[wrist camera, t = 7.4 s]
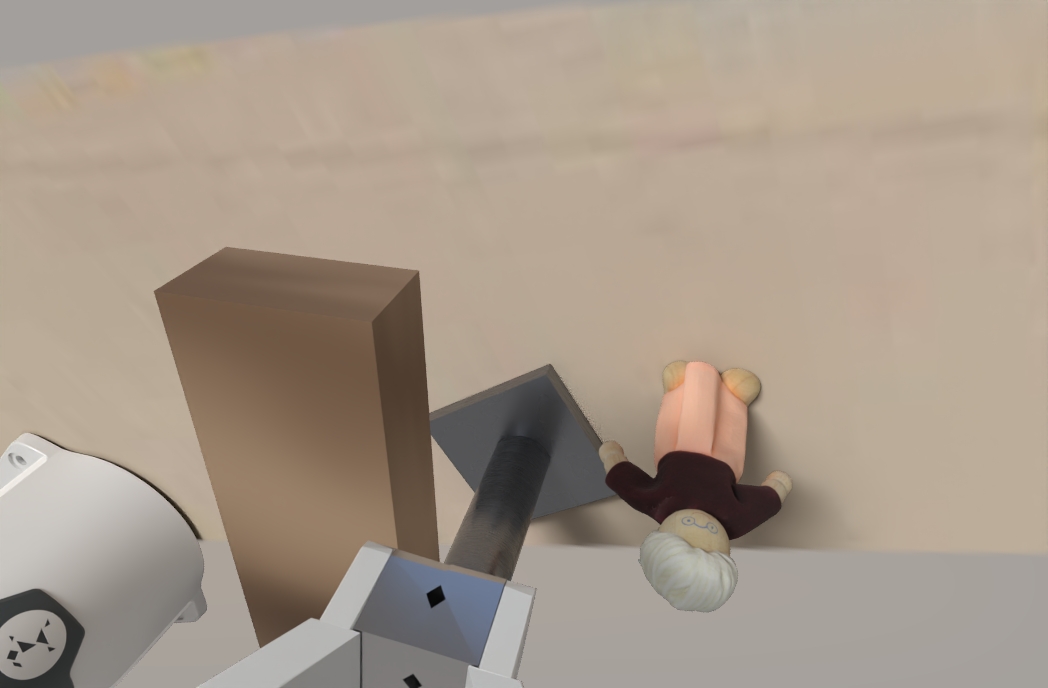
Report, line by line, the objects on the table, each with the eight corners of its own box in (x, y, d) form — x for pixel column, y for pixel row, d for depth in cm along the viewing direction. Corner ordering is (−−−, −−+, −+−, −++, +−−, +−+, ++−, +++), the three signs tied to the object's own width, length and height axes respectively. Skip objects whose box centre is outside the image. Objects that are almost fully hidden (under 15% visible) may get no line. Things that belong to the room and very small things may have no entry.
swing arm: (460, 816, 23) (435, 900, 21) (352, 785, 24) (318, 862, 22) (422, 266, 12) (366, 327, 10) (232, 242, 13) (145, 296, 11)
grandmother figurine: (784, 351, 30) (818, 569, 20) (781, 420, 32) (811, 654, 22) (614, 351, 32) (563, 548, 22) (620, 416, 34) (575, 627, 24)
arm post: (505, 515, 40) (387, 831, 26) (429, 413, 37) (251, 700, 23) (625, 480, 36) (564, 823, 22) (550, 363, 34) (426, 668, 20)
